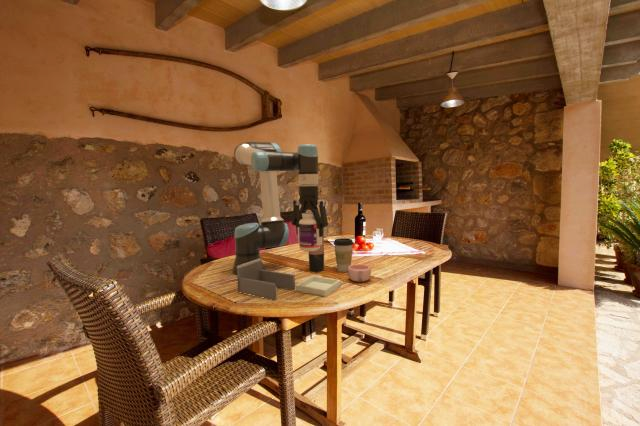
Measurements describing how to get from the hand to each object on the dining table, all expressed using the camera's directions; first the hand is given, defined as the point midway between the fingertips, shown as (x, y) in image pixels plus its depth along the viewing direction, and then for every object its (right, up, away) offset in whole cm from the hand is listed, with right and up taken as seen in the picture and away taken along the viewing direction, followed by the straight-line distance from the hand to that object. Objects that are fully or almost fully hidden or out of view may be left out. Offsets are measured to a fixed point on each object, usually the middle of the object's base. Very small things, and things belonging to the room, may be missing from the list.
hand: (309, 243), depth 118 cm
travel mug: (+2, -16, +31) cm, 35 cm away
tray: (+3, -19, +5) cm, 20 cm away
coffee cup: (+16, -16, +31) cm, 38 cm away
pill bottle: (0, -2, 0) cm, 2 cm away
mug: (+21, -17, +16) cm, 32 cm away
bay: (-17, -19, +4) cm, 26 cm away
